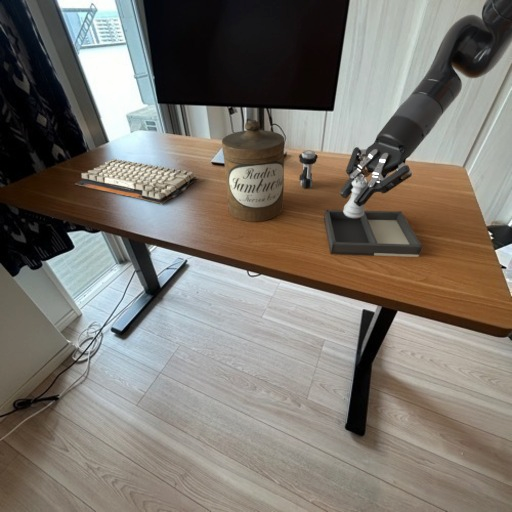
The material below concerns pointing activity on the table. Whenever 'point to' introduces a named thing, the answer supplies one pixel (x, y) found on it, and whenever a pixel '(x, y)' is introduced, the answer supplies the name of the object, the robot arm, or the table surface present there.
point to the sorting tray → (371, 234)
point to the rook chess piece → (350, 207)
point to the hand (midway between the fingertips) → (349, 200)
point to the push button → (307, 167)
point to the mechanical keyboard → (137, 180)
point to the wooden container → (254, 172)
